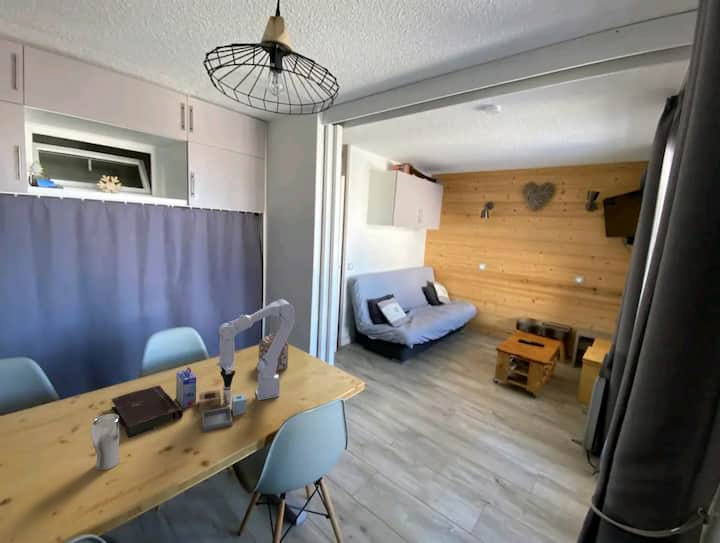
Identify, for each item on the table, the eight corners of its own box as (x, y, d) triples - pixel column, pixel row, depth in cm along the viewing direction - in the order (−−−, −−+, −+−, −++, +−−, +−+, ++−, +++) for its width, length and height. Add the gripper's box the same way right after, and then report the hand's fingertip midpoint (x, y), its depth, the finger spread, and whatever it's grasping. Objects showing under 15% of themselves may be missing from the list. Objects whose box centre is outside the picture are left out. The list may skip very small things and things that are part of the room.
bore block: (219, 397, 141) (219, 389, 141) (221, 407, 134) (221, 398, 134) (199, 401, 138) (199, 392, 137) (199, 411, 131) (199, 402, 130)
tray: (229, 411, 132) (229, 406, 132) (232, 425, 123) (232, 420, 123) (202, 416, 128) (202, 411, 127) (202, 432, 119) (202, 427, 118)
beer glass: (104, 455, 105) (101, 413, 102) (126, 455, 105) (124, 413, 103) (88, 472, 98) (85, 427, 95) (112, 471, 98) (110, 427, 96)
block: (244, 406, 136) (244, 393, 135) (246, 413, 132) (246, 399, 131) (231, 408, 134) (231, 395, 133) (233, 415, 130) (233, 401, 129)
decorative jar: (258, 365, 175) (258, 333, 172) (277, 360, 183) (278, 329, 180) (268, 373, 166) (269, 340, 163) (288, 367, 174) (289, 336, 171)
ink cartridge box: (197, 404, 136) (196, 372, 134) (182, 408, 132) (182, 375, 130) (189, 394, 143) (189, 363, 141) (175, 398, 139) (174, 367, 137)
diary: (161, 394, 143) (161, 383, 142) (183, 419, 126) (183, 407, 126) (108, 410, 129) (108, 398, 128) (125, 441, 112) (125, 427, 112)
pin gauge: (230, 401, 140) (230, 383, 138) (230, 404, 137) (230, 387, 136) (223, 402, 138) (223, 384, 137) (223, 405, 136) (223, 388, 135)
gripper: (215, 346, 139) (215, 376, 141) (217, 360, 126) (217, 392, 128) (233, 344, 142) (232, 373, 144) (236, 358, 129) (236, 389, 131)
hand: (226, 382), depth 136 cm, fingers open, 7 cm apart
